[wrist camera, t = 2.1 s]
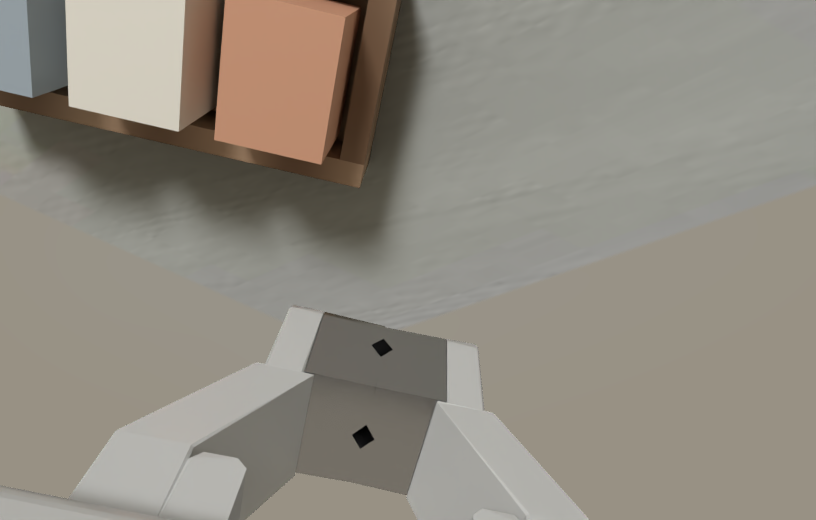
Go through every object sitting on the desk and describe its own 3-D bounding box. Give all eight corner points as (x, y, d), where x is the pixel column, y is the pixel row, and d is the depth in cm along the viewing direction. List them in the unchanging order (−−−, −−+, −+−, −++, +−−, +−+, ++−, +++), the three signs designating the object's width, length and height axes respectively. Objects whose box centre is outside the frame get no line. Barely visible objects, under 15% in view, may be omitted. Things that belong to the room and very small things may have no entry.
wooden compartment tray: (408, -33, 29) (402, -32, 25) (368, 163, 33) (359, 188, 30) (-16, -140, 28) (-83, -154, 24) (3, 78, 32) (-52, 93, 29)
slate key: (92, -60, 27) (22, -63, 22) (94, 76, 30) (32, 97, 25) (-13, -86, 27) (-104, -94, 22) (-1, 54, 29) (-81, 71, 25)
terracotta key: (361, 7, 27) (345, 17, 23) (339, 133, 30) (321, 164, 26) (261, -18, 27) (226, -13, 23) (248, 112, 30) (214, 139, 25)
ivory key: (228, -26, 27) (186, -22, 23) (218, 105, 30) (178, 131, 25) (126, -51, 27) (63, -52, 22) (125, 83, 30) (68, 106, 25)
